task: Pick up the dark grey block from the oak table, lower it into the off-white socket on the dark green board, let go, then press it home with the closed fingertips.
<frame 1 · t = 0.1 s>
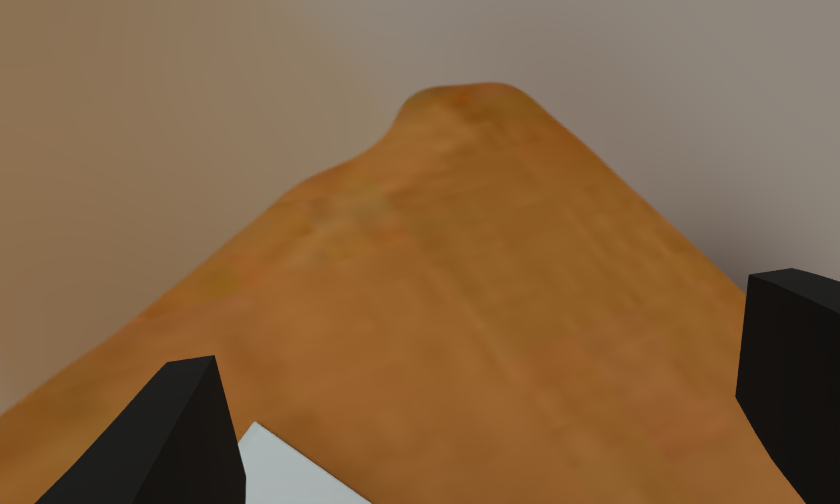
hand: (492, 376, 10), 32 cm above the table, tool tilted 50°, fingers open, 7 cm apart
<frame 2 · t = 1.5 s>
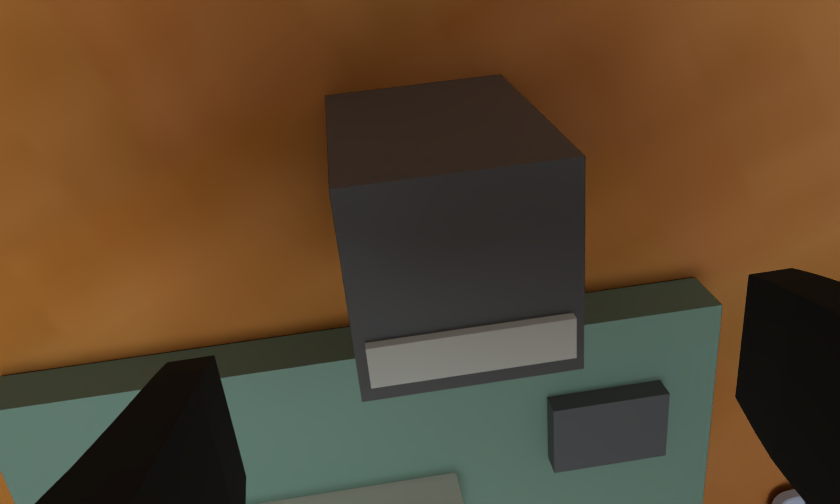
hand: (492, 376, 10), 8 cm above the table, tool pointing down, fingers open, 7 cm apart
dark grey block: (421, 168, 18), on the table
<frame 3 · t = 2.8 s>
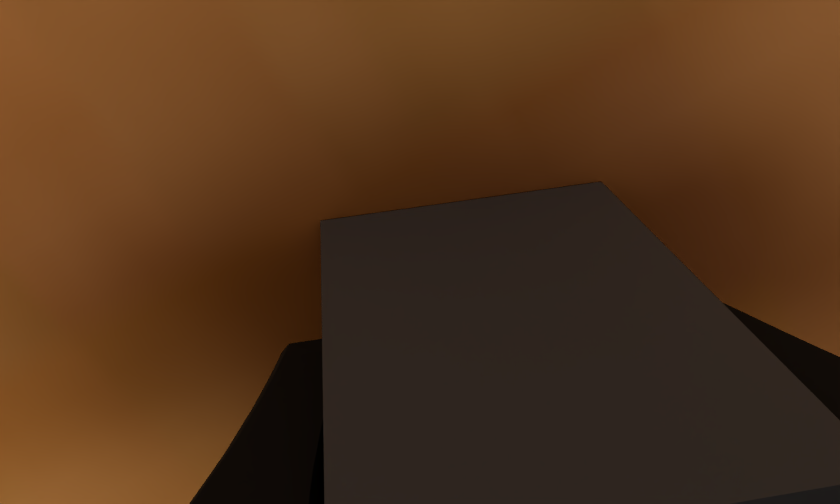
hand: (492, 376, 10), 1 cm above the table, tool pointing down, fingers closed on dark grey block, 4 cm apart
dark grey block: (472, 322, 11), on the table, touching gripper
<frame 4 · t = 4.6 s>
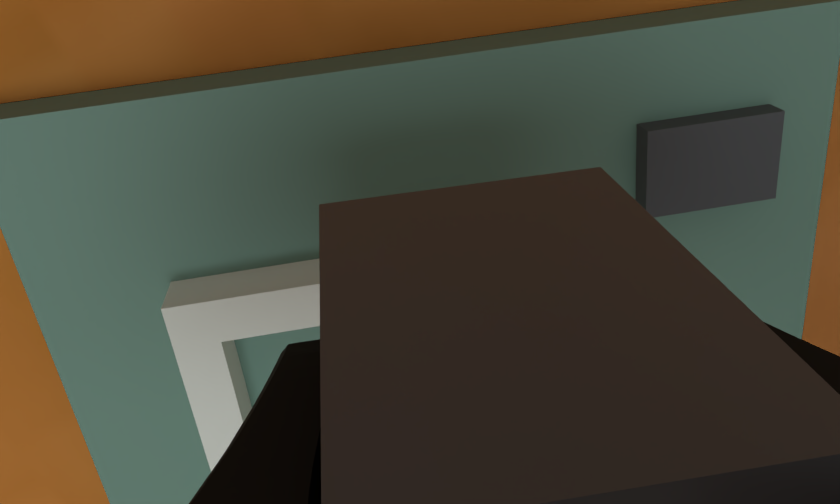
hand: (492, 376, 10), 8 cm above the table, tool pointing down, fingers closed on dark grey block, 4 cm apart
dark grey block: (470, 308, 11), point 7 cm above the table, touching gripper
board: (443, 319, 19), on the table
when the fingers open (4 cm above the table, at t = 6.2 s): dark grey block stays where it is, resting on board.
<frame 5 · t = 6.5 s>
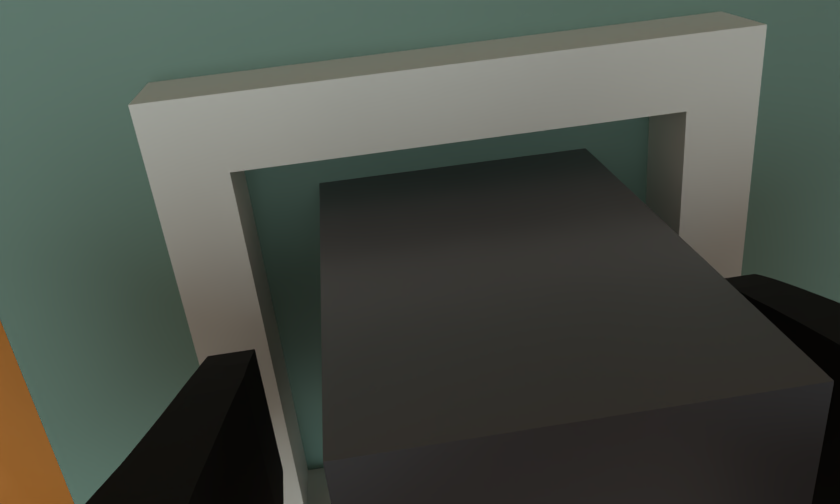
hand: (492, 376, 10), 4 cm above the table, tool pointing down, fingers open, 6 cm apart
dark grey block: (463, 283, 12), point 1 cm above the table, touching board
board: (556, 190, 13), on the table
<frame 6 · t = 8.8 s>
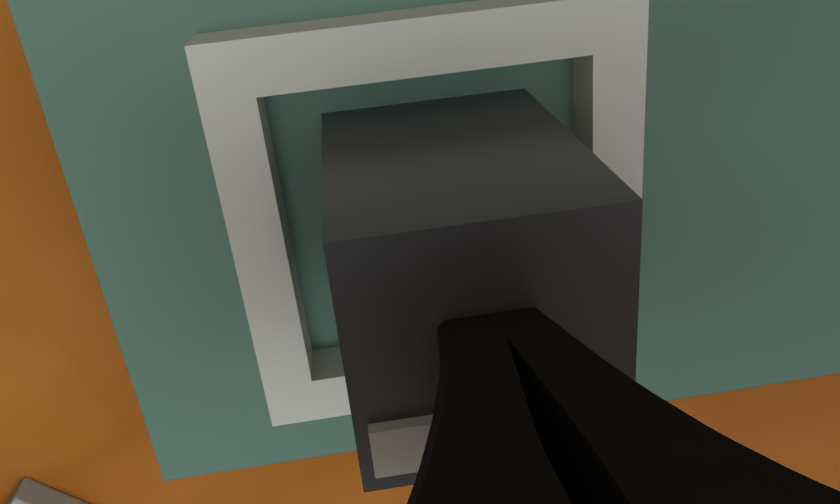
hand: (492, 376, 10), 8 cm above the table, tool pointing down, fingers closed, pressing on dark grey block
dark grey block: (432, 195, 15), point 1 cm above the table, touching board, gripper
board: (508, 128, 17), on the table
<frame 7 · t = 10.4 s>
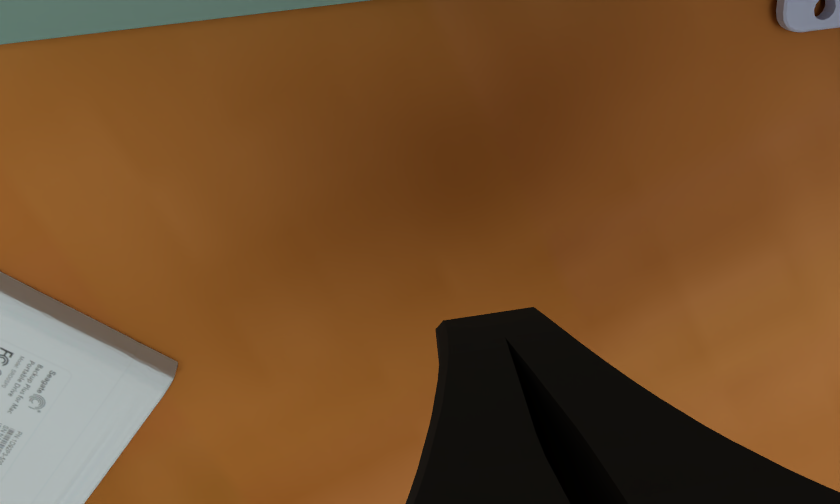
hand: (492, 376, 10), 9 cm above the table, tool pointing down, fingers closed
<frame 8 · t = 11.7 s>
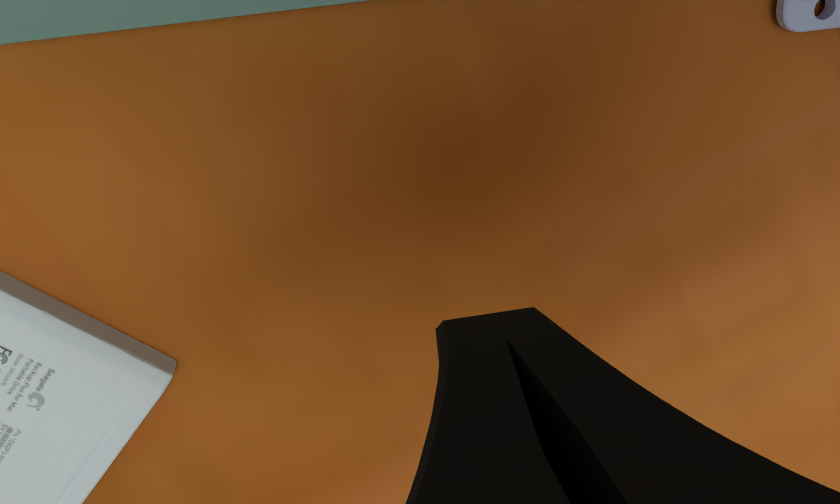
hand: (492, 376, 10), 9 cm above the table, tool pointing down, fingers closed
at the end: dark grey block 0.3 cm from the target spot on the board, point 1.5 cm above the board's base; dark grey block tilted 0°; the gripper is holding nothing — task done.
